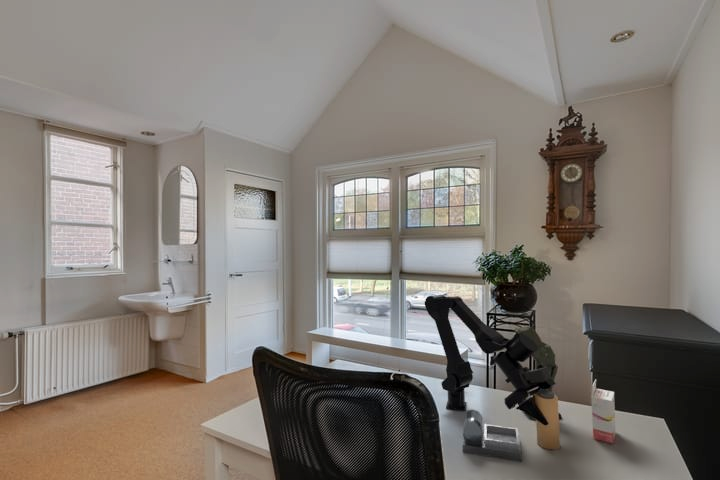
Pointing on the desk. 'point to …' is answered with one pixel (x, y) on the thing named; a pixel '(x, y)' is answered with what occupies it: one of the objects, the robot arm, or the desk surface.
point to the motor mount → (490, 439)
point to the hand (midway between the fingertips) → (552, 421)
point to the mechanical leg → (540, 353)
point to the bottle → (548, 420)
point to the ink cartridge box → (603, 414)
